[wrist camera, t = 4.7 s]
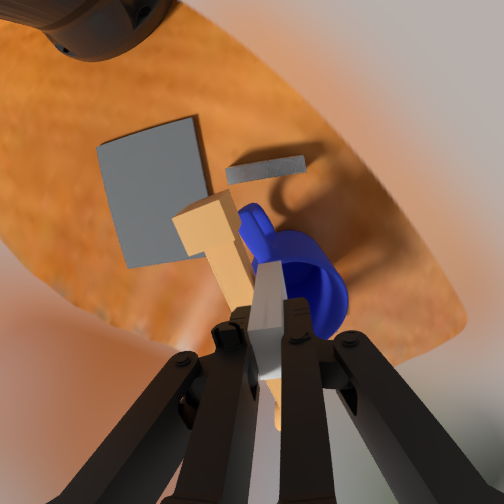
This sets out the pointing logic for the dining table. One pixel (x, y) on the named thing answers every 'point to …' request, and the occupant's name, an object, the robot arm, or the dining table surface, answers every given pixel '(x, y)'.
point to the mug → (298, 268)
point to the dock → (265, 169)
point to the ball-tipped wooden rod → (223, 255)
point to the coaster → (152, 190)
